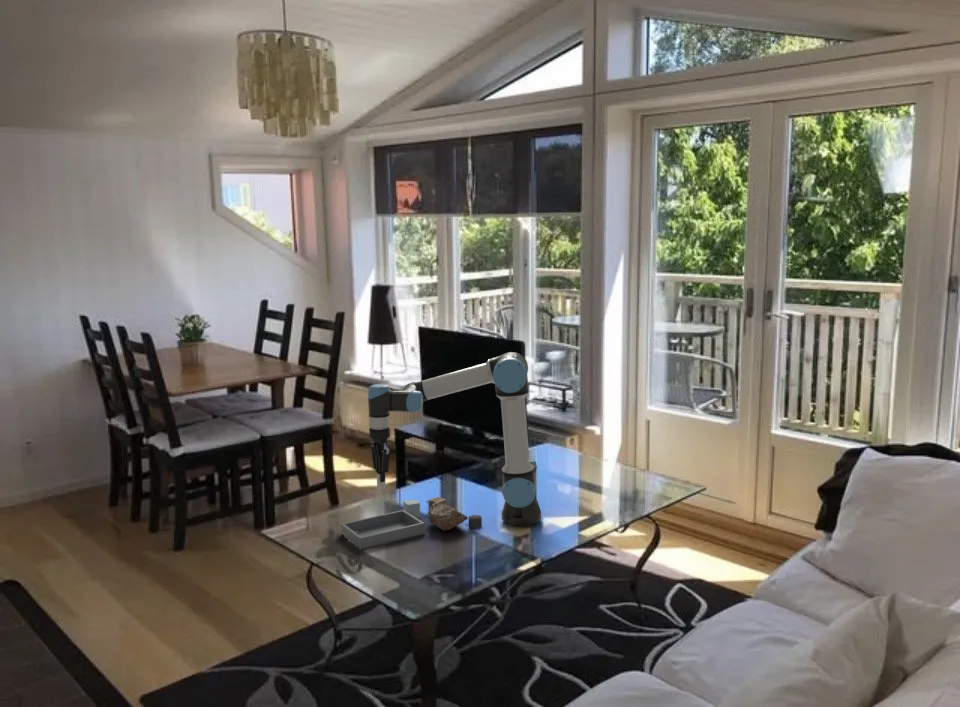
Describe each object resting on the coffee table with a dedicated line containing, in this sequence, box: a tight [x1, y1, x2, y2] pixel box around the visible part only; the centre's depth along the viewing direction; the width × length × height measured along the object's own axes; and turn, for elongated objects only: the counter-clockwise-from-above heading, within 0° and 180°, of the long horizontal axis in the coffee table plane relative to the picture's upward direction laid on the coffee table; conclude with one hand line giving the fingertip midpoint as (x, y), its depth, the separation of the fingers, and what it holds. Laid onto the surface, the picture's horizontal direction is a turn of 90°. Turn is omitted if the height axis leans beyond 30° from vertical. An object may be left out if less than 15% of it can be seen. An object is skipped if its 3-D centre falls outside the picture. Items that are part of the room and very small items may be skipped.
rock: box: [428, 502, 469, 532], centre depth 303 cm, size 18×10×10 cm, turn 43°
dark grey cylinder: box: [468, 514, 483, 530], centre depth 303 cm, size 5×5×4 cm
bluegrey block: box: [403, 498, 421, 519], centre depth 316 cm, size 5×5×6 cm
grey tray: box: [340, 509, 426, 551], centre depth 297 cm, size 17×26×4 cm, turn 123°
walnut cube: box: [427, 496, 447, 509], centre depth 321 cm, size 5×5×5 cm
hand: (381, 489), depth 294 cm, fingers closed
